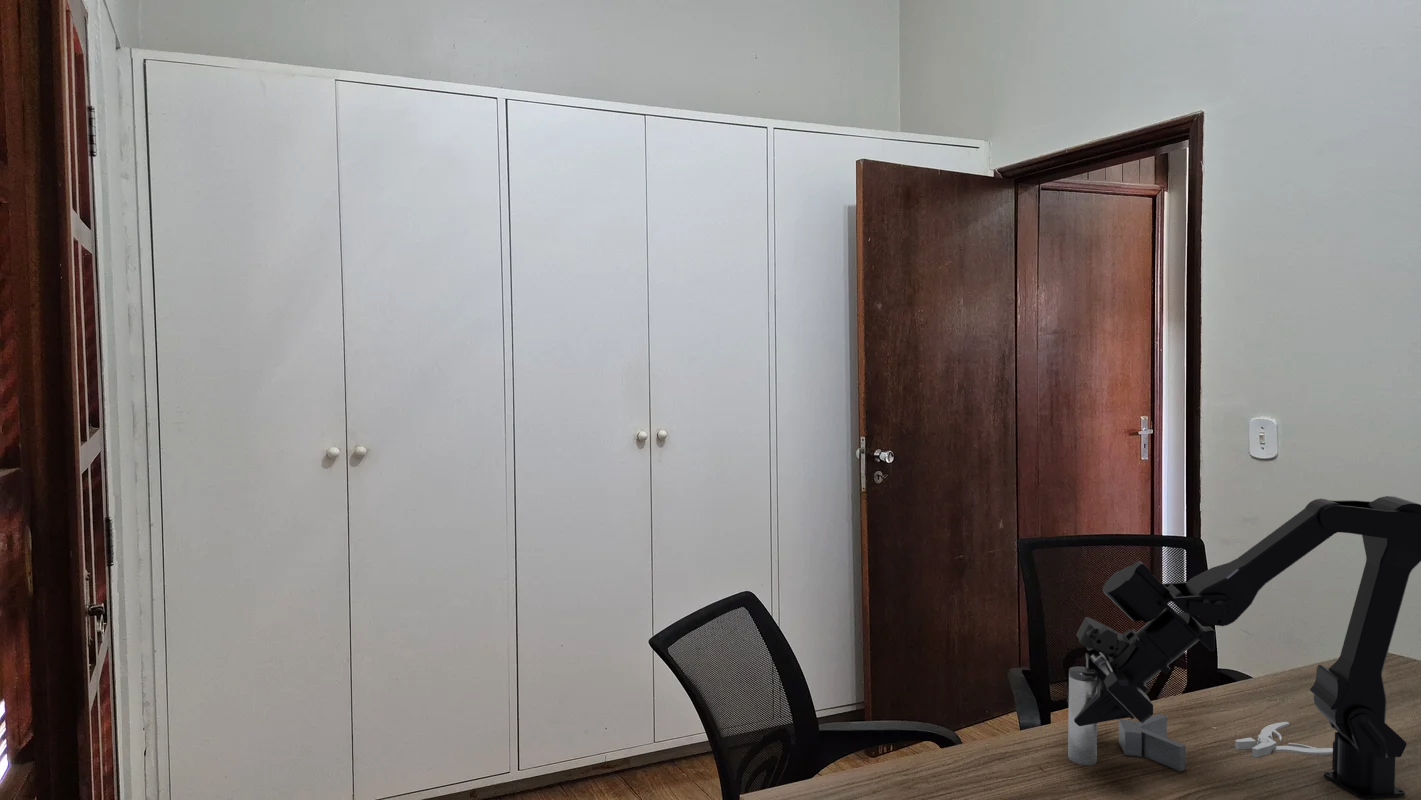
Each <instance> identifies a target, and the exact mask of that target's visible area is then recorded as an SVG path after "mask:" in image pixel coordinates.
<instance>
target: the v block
mask: <svg viewBox="0 0 1421 800" xmlns="http://www.w3.org/2000/svg"><path fill="white" fill-rule="evenodd" d="M1167 730H1168V716H1166V715H1165V714H1164V715H1163V714H1161V713H1158V714H1156V715H1152V716H1151V717H1150V718H1148V719H1147V720H1146V721H1145V722H1143V723H1141V722H1140V721H1139V720H1138V721H1135V720H1133V719H1131V720H1129V719H1118V743H1119V746H1120V747H1121V750H1122V752H1123V754H1124V756H1130V757H1139V758H1140V757H1145V758H1146V759H1149V760H1152V761H1153V762H1156V763H1159V764H1162V765H1163V766H1166V767H1168V768H1171V769H1172V770H1175V771H1177V772H1183V771H1185V770H1186V745H1185V744H1183V743H1181V742H1178V741H1175V740H1173V739H1170V738H1167V737H1168V736H1167V735H1168V733H1167V732H1168V731H1167Z"/></svg>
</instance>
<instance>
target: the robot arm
mask: <svg viewBox="0 0 1421 800" xmlns="http://www.w3.org/2000/svg"><path fill="white" fill-rule="evenodd" d="M1337 533H1345V534H1353V535H1360V536H1362V542H1363V547H1364V552H1365V556H1366V557H1365V564H1364V567H1363V571H1362V576H1361V579H1360V582H1359V586H1358V589H1357V594H1356V597H1355V601H1354V604H1353V607H1352V612H1351V615H1350V619H1349V623H1348V626H1347V630H1346V633H1345V637H1344V640H1343V645H1342V648H1341V651H1340V655H1339V657H1338V659H1337V660H1336V661H1335V662H1334V663H1333V664H1332V665H1331V666H1330V667H1326V666H1324V665H1322V664H1318V665H1317V668H1316V675H1315V680H1314V683H1313V685H1312V686H1311V687H1310V688H1309V691H1310V692H1311V693H1312V694H1313V701H1314V706H1316V708H1317V710H1318V711H1319V712H1320V714H1321V715H1323V717H1325V718H1326V720H1328V722H1329V725H1330V727H1331V728H1332V729H1334V730H1335V731H1336V732H1334V740H1333V741H1332V748H1333V754H1332V761H1331V762H1332V764H1331V765H1332V768H1331V769H1332V770H1333V771H1323V777H1324V778H1326V779H1327V780H1329V781H1331V782H1332V783H1334V784H1336V785H1338V786H1339V787H1341V788H1343V789H1345V790H1346V791H1347V792H1349V793H1351V794H1353V795H1355V796H1357V797H1358V798H1360V799H1362V800H1363V799H1365V800H1368V799H1369V800H1370V799H1382V798H1397V797H1405V796H1406V791H1405V790H1403V789H1401V788H1400V787H1397V786H1396V782H1395V781H1396V758H1401V757H1402V755H1403V753H1404V751H1405V749H1406V747H1407V742H1406V741H1405V740H1404V739H1403V738H1402V737H1401V736H1399V733H1397V732H1396V731H1395V730H1394V729H1392V728H1391V727H1390V726H1389V725H1388V724H1387V723H1386V716H1387V715H1386V713H1387V696H1386V691H1385V685H1384V679H1383V670H1384V667H1385V663H1386V660H1387V656H1388V653H1389V650H1390V646H1391V642H1392V638H1393V634H1394V631H1395V627H1396V624H1397V622H1398V621H1397V620H1398V618H1399V614H1400V609H1401V606H1402V603H1403V600H1404V596H1405V593H1406V588H1407V585H1408V581H1409V578H1410V575H1411V572H1412V571H1413V569H1415V568H1416V567H1417V566H1418V565H1419V564H1420V563H1421V504H1420V503H1416V502H1413V501H1410V500H1408V499H1403V498H1400V497H1397V496H1392V495H1391V496H1389V495H1385V496H1382V497H1381V496H1379V497H1378V498H1376V499H1374V500H1371V501H1366V500H1353V499H1352V500H1333V499H1332V500H1331V499H1325V498H1317V499H1313V500H1312V501H1310V502H1308V503H1307V504H1306V506H1305V507H1304V508H1303V509H1302V510H1301V511H1299V512H1298V513H1297V514H1295V515H1294V516H1293V517H1291V518H1290V519H1288V521H1285V522H1284V523H1283V524H1282V525H1281V526H1279V527H1278V528H1276V529H1275V530H1273V531H1272V532H1270V534H1268V535H1267V536H1266V537H1264V538H1263V539H1261V540H1260V541H1258V543H1256V544H1255V545H1253V546H1252V547H1251V548H1249V549H1248V550H1247V551H1245V552H1244V553H1243V554H1241V555H1240V556H1239V557H1237V558H1235V559H1233V560H1231V561H1230V562H1226V563H1223V564H1219V565H1216V566H1213V567H1210V568H1209V569H1207V570H1205V571H1203V572H1201V573H1199V574H1197V575H1195V576H1193V577H1192V578H1190V579H1189V580H1187V581H1179V582H1167V583H1163V582H1160V580H1159V579H1158V578H1157V577H1155V575H1153V573H1152V571H1151V570H1150V569H1149V568H1148V567H1147V566H1146V565H1145V564H1144V563H1143V562H1142V561H1140V560H1137V561H1136V562H1135V563H1134V564H1132V565H1129V566H1126V567H1124V568H1122V569H1120V570H1117V571H1116V572H1114V573H1113V574H1112V575H1111V576H1110V577H1109V578H1108V579H1107V580H1106V581H1105V583H1104V584H1103V586H1102V590H1101V591H1102V592H1103V594H1105V596H1106V597H1108V598H1109V599H1110V600H1111V601H1112V602H1113V603H1114V605H1116V606H1117V607H1118V608H1119V609H1120V610H1121V612H1123V614H1125V615H1126V616H1127V617H1128V618H1129V619H1130V620H1131V621H1133V622H1139V621H1142V622H1143V623H1146V624H1145V625H1143V626H1142V627H1141V628H1139V629H1138V630H1137V631H1135V630H1134V629H1133V628H1132V629H1127V630H1126V631H1125V632H1123V633H1120V632H1118V631H1117V630H1114V629H1113V628H1112V627H1109V626H1107V625H1106V624H1104V623H1101V622H1099V621H1098V620H1095V619H1093V618H1091V617H1089V616H1085V617H1084V619H1083V620H1082V623H1081V624H1080V627H1079V629H1078V630H1077V632H1076V633H1075V636H1076V637H1077V638H1078V643H1080V644H1081V645H1082V646H1084V647H1086V650H1087V652H1088V653H1087V652H1086V653H1085V661H1086V662H1085V665H1086V666H1085V667H1087V668H1091V669H1094V670H1096V671H1097V672H1098V687H1097V694H1096V695H1095V696H1094V697H1093V698H1092V700H1091V701H1090V702H1089V703H1088V704H1087V705H1086V706H1085V707H1084V708H1083V709H1082V710H1081V712H1080V713H1079V714H1078V715H1077V716H1076V718H1075V719H1074V722H1075V723H1076V724H1077V725H1078V726H1085V725H1090V724H1095V723H1097V724H1099V723H1103V722H1109V721H1115V720H1116V721H1117V720H1119V719H1120V720H1125V719H1129V718H1130V719H1131V720H1133V719H1135V718H1136V720H1138V721H1140V722H1141V723H1143V722H1145V721H1146V720H1147V719H1148V718H1150V717H1152V716H1154V705H1153V703H1152V701H1151V700H1150V698H1149V696H1148V695H1147V694H1146V693H1145V692H1146V691H1148V686H1147V685H1146V684H1147V683H1149V682H1150V681H1151V680H1152V679H1153V678H1155V677H1156V676H1157V675H1159V673H1161V672H1162V673H1163V674H1164V675H1165V676H1166V675H1168V673H1170V672H1171V671H1172V669H1171V668H1170V665H1171V664H1172V663H1173V662H1174V661H1175V660H1177V659H1178V658H1179V657H1181V656H1182V655H1183V654H1184V653H1186V651H1188V650H1189V649H1190V648H1192V647H1193V646H1195V645H1196V644H1197V643H1198V642H1199V641H1200V642H1201V644H1203V646H1205V647H1206V648H1207V649H1208V650H1209V651H1210V652H1214V651H1215V650H1216V644H1215V636H1216V631H1215V630H1214V629H1213V628H1212V627H1211V626H1207V625H1205V626H1203V625H1202V624H1201V623H1199V621H1197V620H1196V619H1195V618H1194V617H1193V616H1197V617H1199V618H1200V620H1201V621H1203V622H1205V623H1207V624H1209V625H1212V626H1217V627H1225V626H1229V625H1230V624H1233V623H1234V622H1236V621H1237V620H1238V619H1239V618H1240V617H1241V616H1242V614H1243V613H1245V611H1247V609H1248V608H1249V607H1250V606H1251V605H1252V604H1253V602H1254V600H1255V598H1256V597H1257V595H1258V593H1259V591H1260V590H1261V589H1263V587H1264V586H1265V585H1266V584H1267V583H1269V582H1270V581H1271V580H1273V579H1274V578H1276V577H1277V576H1278V575H1280V574H1281V573H1282V572H1285V571H1286V569H1288V568H1290V567H1291V566H1292V565H1294V564H1295V563H1297V562H1298V561H1299V560H1301V559H1302V558H1304V557H1305V556H1306V555H1307V554H1309V553H1310V552H1311V551H1313V550H1314V549H1316V548H1317V547H1319V546H1320V545H1321V544H1322V543H1324V542H1325V541H1327V540H1328V539H1329V538H1331V537H1332V536H1334V535H1335V534H1337ZM1171 602H1172V603H1173V604H1174V605H1176V606H1177V607H1178V609H1179V610H1181V611H1182V612H1181V611H1180V612H1177V611H1176V610H1175V609H1174V608H1173V607H1171V605H1170V604H1169V603H1171ZM1192 615H1193V616H1192ZM1089 653H1090V654H1089ZM1066 702H1067V705H1069V697H1067V699H1066Z"/></svg>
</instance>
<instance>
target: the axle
mask: <svg viewBox="0 0 1421 800" xmlns="http://www.w3.org/2000/svg"><path fill="white" fill-rule="evenodd" d="M1097 687H1098V672H1097V671H1096V670H1094V669H1091V668H1087V667H1086V666H1080V665H1079V666H1072V667H1070V668H1068V698H1069V704H1068V733H1067V734H1068V735H1067V737H1068V738H1067V739H1068V742H1067V743H1068V747H1067V751H1068V752H1067V753H1068V754H1067V757H1068V760H1070V761H1071V762H1073V763H1076V764H1079V765H1082V766H1092V765H1095V764H1096V763H1097V762H1098V759H1097V758H1098V756H1097V755H1098V754H1097V752H1098V749H1097V747H1098V746H1097V745H1098V723H1095V724H1090V725H1085V726H1078V725H1077V724H1076V723H1075V722H1074V719H1075V718H1076V716H1077V715H1078V714H1079V713H1080V712H1081V710H1082V709H1083V708H1084V707H1085V706H1086V705H1087V704H1088V703H1089V702H1090V701H1091V700H1092V698H1093V697H1094V696H1095V695H1096V694H1097Z"/></svg>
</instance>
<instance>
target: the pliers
mask: <svg viewBox="0 0 1421 800" xmlns="http://www.w3.org/2000/svg"><path fill="white" fill-rule="evenodd" d="M1290 725H1291V724H1290V722H1288V721H1282V722H1275V723H1271V724H1269V725H1267V726H1265V727H1263V728H1262V729H1261V731H1260V734H1258V735H1257V740H1255V739H1254V738H1252V737H1246V738H1240V739H1239V738H1238V739H1235V741H1234V748H1235V749H1236V750H1252V751H1251V752H1252V753H1251V757H1254V758H1261V757H1264V756H1268V755H1270V754H1272V752H1274V753H1278V752H1279V753H1282V752H1285V753H1294V754H1300V755H1310V756H1311V755H1313V756H1314V755H1315V756H1320V755H1321V756H1324V755H1333V747H1322V748H1321V747H1320V748H1319V747H1314V746H1310V745H1306V744H1301V743H1296V742H1294V743H1293V742H1287V745H1277V741H1275V740H1274V738H1273V735H1274V736H1276V737H1278V742H1279V743H1282V740H1283V738H1282V734H1281V733H1279V732H1278V731H1279V730H1280V729H1281V730H1282V729H1283V728H1286V727H1288V726H1290Z"/></svg>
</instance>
